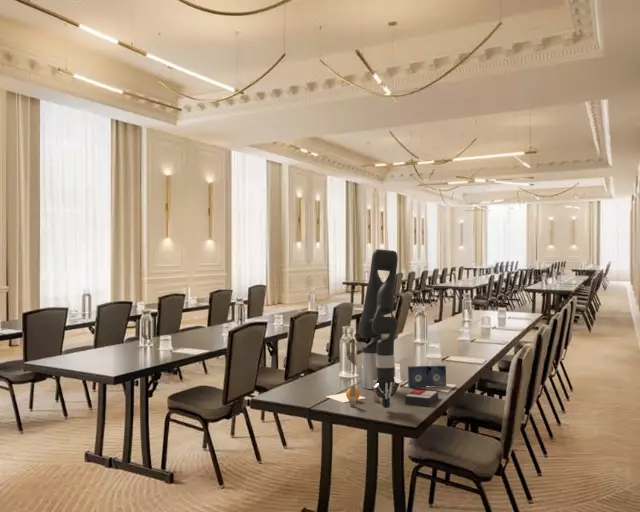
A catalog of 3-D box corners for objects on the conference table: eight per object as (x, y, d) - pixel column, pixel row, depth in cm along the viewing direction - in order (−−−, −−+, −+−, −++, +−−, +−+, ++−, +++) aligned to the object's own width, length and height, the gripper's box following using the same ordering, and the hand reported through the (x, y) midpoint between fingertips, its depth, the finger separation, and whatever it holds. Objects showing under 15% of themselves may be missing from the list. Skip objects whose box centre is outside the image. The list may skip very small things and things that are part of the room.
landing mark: (325, 396, 257) (325, 396, 257) (348, 392, 264) (348, 392, 264) (342, 402, 246) (342, 402, 246) (365, 398, 253) (365, 397, 253)
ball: (351, 404, 245) (343, 400, 250) (362, 401, 248) (353, 397, 253) (351, 391, 244) (343, 387, 249) (362, 388, 247) (353, 384, 252)
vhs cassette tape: (445, 385, 275) (444, 365, 275) (446, 387, 272) (446, 366, 272) (407, 386, 275) (407, 366, 275) (408, 388, 272) (408, 367, 272)
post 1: (348, 406, 240) (348, 385, 240) (353, 405, 241) (353, 384, 241) (352, 407, 238) (351, 386, 238) (357, 406, 239) (356, 385, 239)
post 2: (372, 401, 247) (372, 380, 247) (377, 400, 249) (376, 380, 249) (376, 402, 245) (376, 382, 245) (380, 401, 247) (380, 381, 247)
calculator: (438, 390, 251) (429, 396, 238) (438, 400, 251) (429, 407, 237) (414, 388, 256) (404, 394, 242) (414, 398, 256) (404, 404, 242)
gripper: (391, 362, 238) (392, 403, 238) (367, 365, 231) (367, 408, 231) (403, 364, 232) (404, 406, 232) (379, 368, 225) (379, 412, 225)
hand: (386, 407), depth 232 cm, fingers closed
